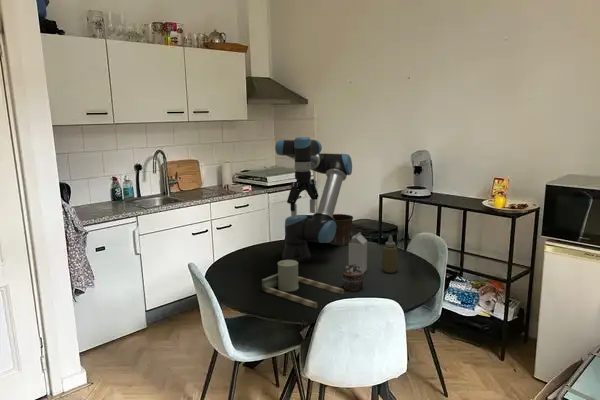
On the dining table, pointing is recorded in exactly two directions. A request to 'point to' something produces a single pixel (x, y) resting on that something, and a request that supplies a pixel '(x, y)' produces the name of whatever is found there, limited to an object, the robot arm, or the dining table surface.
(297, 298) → the guide track
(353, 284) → the cupcake
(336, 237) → the plant pot
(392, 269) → the squeeze bottle
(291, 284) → the can
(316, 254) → the dining table surface
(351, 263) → the milk carton
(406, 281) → the dining table surface
